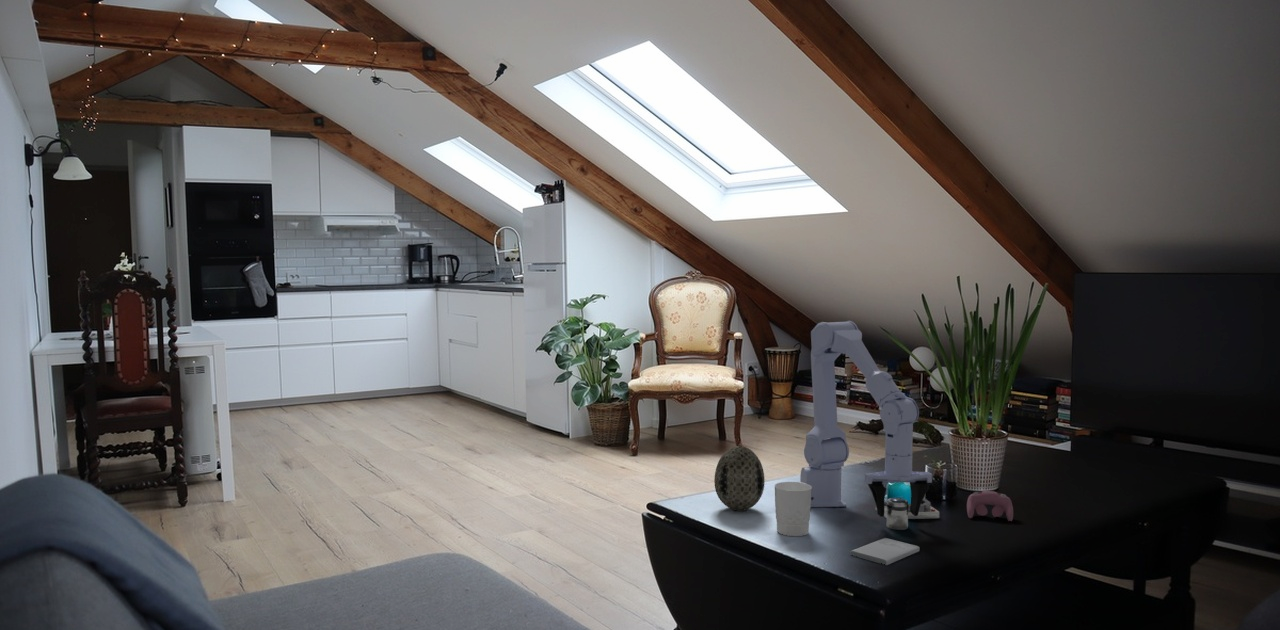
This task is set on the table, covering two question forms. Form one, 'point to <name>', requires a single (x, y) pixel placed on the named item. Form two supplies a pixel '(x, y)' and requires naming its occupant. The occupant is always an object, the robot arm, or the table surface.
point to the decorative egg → (739, 478)
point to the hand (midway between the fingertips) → (897, 515)
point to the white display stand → (923, 513)
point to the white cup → (793, 508)
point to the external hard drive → (885, 551)
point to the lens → (897, 513)
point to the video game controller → (992, 498)
